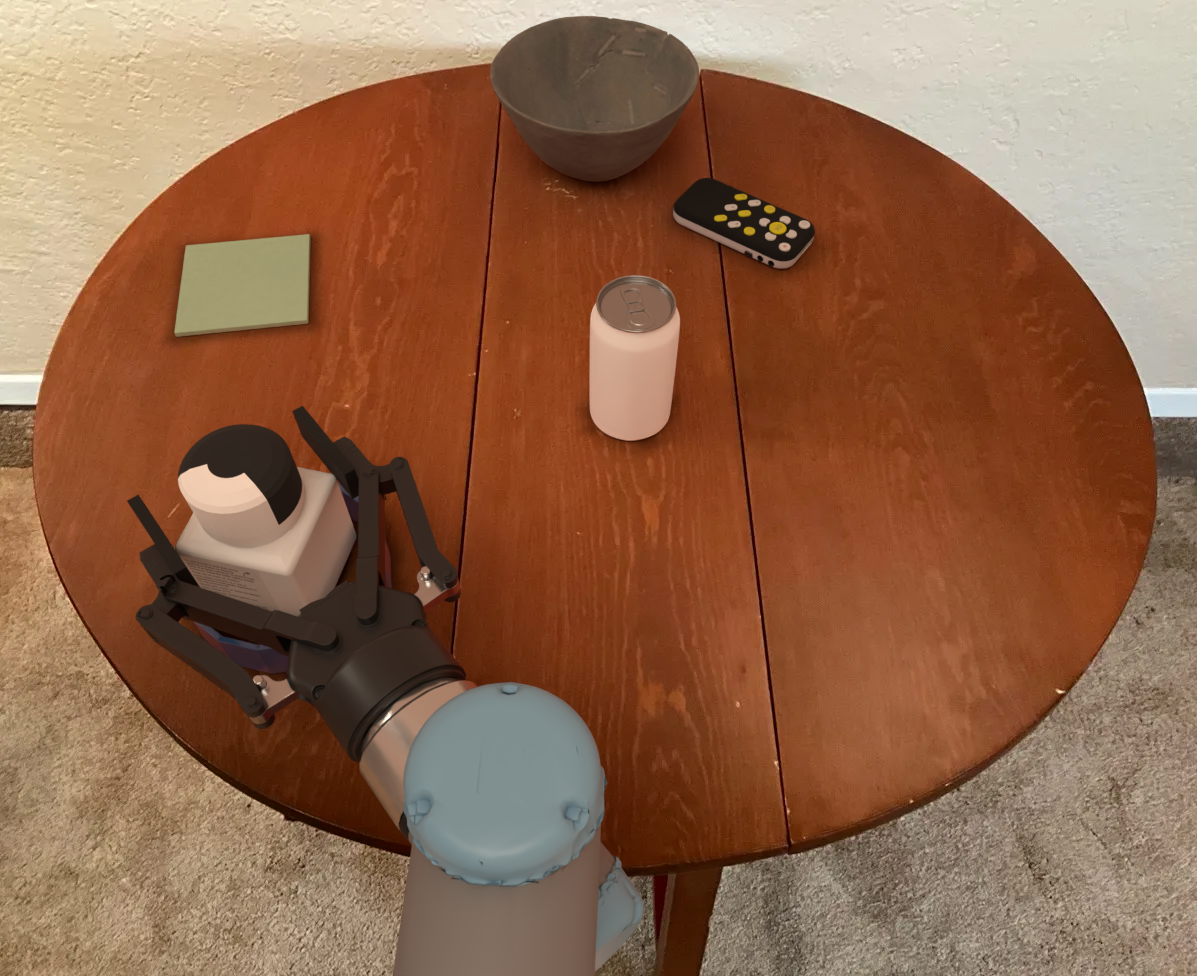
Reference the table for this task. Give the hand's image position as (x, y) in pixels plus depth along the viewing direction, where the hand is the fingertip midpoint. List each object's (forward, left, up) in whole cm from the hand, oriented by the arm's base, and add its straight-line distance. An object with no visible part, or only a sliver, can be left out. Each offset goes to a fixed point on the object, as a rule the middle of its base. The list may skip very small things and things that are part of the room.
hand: (224, 464), depth 62 cm
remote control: (+42, +28, -10) cm, 52 cm away
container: (+2, -3, -9) cm, 10 cm away
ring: (+2, -4, -10) cm, 11 cm away
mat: (-3, +27, -10) cm, 29 cm away
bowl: (+30, +40, -10) cm, 51 cm away
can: (+28, +8, -10) cm, 31 cm away
